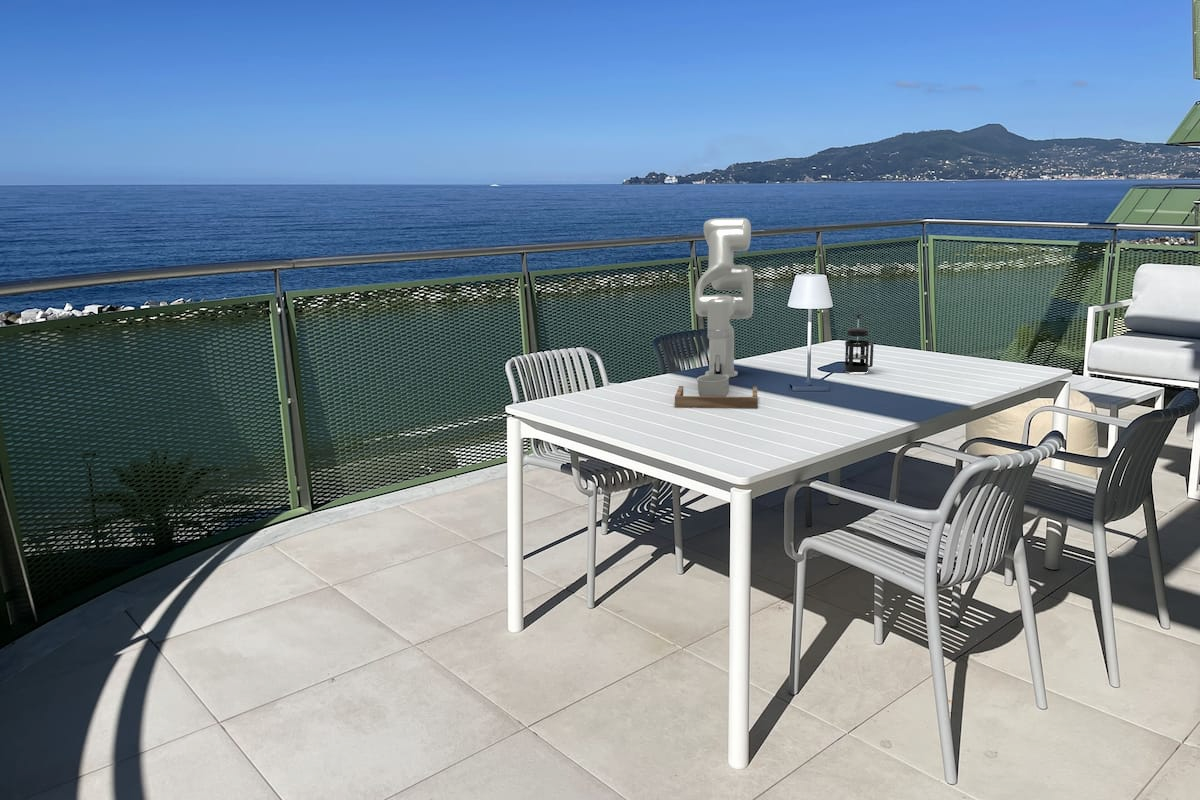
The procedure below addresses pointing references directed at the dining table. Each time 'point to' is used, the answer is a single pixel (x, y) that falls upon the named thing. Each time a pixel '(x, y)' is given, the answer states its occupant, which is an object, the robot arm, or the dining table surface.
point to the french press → (857, 343)
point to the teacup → (713, 385)
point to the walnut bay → (715, 401)
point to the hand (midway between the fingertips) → (718, 385)
